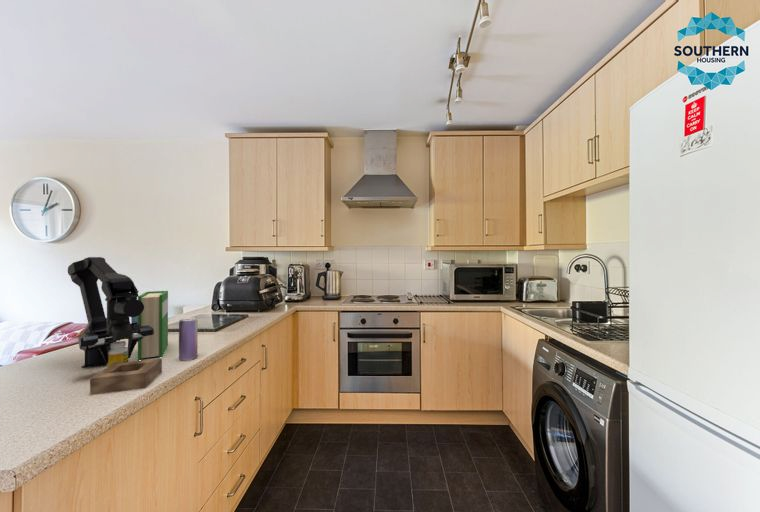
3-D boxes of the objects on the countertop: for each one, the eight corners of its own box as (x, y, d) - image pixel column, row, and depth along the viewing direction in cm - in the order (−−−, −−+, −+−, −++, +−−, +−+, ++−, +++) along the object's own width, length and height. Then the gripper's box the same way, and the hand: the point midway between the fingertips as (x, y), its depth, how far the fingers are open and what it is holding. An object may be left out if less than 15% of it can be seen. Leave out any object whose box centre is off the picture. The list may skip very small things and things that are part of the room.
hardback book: (162, 357, 115) (162, 295, 115) (137, 360, 111) (137, 296, 111) (167, 345, 130) (168, 290, 130) (146, 348, 127) (146, 291, 127)
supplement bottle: (110, 369, 103) (110, 341, 103) (130, 366, 105) (130, 339, 105) (104, 375, 98) (104, 345, 98) (125, 372, 100) (125, 343, 100)
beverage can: (188, 361, 111) (188, 320, 111) (174, 360, 112) (175, 320, 112) (201, 356, 117) (201, 317, 117) (188, 355, 118) (188, 317, 118)
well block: (90, 394, 84) (90, 378, 84) (114, 376, 96) (114, 362, 96) (145, 388, 88) (145, 372, 88) (161, 371, 101) (161, 358, 101)
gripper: (83, 322, 89) (83, 374, 89) (158, 313, 104) (158, 358, 104) (77, 317, 96) (77, 366, 96) (148, 309, 111) (148, 351, 111)
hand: (118, 360), depth 102 cm, fingers closed on supplement bottle, 5 cm apart
